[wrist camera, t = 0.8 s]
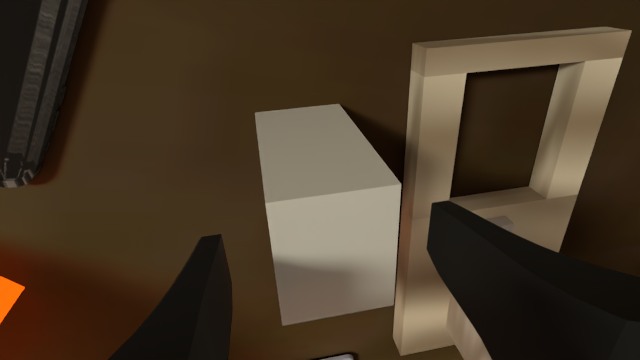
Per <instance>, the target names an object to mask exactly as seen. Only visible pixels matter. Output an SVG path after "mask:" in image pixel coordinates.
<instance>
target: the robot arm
mask: <svg viewBox="0 0 640 360" xmlns="http://www.w3.org/2000/svg"><path fill="white" fill-rule="evenodd" d="M426 249H427V251H428V254H429V256H430V258H431V260H432V262H433V264H434V266H435V268H436V270H437V272H438V274H439V276H440V277H441V279H442V280H443V282H444V283H445V285H446V286H447V288H448V289H449V291H450V292H451V294H452V295H453V297H454V298H455V300H456V301H457V303H458V304H459V306H460V307H461V309H462V310H463V312H464V313H465V315H466V316H467V318H468V319H469V321H470V322H471V324H472V325H473V327H474V328H475V330H476V332H477V333H478V335H479V336H480V338H481V340H482V342H483V344H484V346H485V347H486V349H487V351H488V353H489V355H490V357H491V359H492V360H640V277H636V276H632V275H628V274H624V273H620V272H617V271H613V270H609V269H606V268H603V267H599V266H596V265H593V264H590V263H586V262H583V261H580V260H577V259H574V258H571V257H569V256H566V255H563V254H561V253H558V252H555V251H553V250H550V249H548V248H545V247H543V246H540V245H538V244H536V243H533V242H531V241H529V240H527V239H525V238H522V237H520V236H518V235H516V234H514V233H512V232H510V231H508V230H506V229H504V228H502V227H500V226H498V225H496V224H494V223H492V222H490V221H488V220H486V219H484V218H482V217H480V216H478V215H477V214H475V213H473V212H471V211H469V210H467V209H465V208H463V207H461V206H459V205H457V204H455V203H453V202H451V201H448V200H447V201H440V202H434V203H432V205H431V213H430V222H429V231H428V240H427V248H426ZM231 321H232V281H231V277H230V272H229V267H228V263H227V258H226V254H225V249H224V244H223V240H222V235H221V234H218V235H212V236H205V237H201V239H200V240H199V241H198V243H197V245H196V247H195V249H194V250H193V252H192V254H191V256H190V257H189V259H188V261H187V262H186V264H185V266H184V267H183V269H182V270H181V272H180V273H179V275H178V277H177V278H176V280H175V281H174V283H173V284H172V286H171V287H170V289H169V290H168V291H167V293H166V294H165V295H164V297H163V298H162V299H161V301H160V302H159V304H158V305H157V306H156V308H155V309H154V310H153V311H152V313H151V314H150V315H149V316H148V317H147V319H146V320H145V321H144V322H143V323H142V325H141V326H140V327H139V328H138V329H137V330H136V331H135V333H134V334H133V335H132V336H131V337H130V338H129V339H128V340H127V341H126V342H125V343H124V344H123V345H122V346H121V347H120V348H119V349H118V350H117V351H116V352H115V353H114V354H113V355H112V356H111V357H110V358H109V359H108V360H228V355H229V344H230V333H231ZM321 360H354V359H353V356H352V355H349V354H346V355H341V356H336V357H331V358H326V359H321Z"/></svg>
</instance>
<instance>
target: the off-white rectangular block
mask: <svg viewBox="0 0 640 360" xmlns="http://www.w3.org/2000/svg"><path fill="white" fill-rule="evenodd" d="M255 119H256V127H257V136H258V144H259V153H260V162H261V170H262V179H263V187H264V196H265V204H266V211H267V218H268V226H269V233H270V240H271V247H272V254H273V261H274V269H275V276H276V283H277V290H278V297H279V304H280V311H281V319H282V326H284V325H289V324H296V323H302V322H307V321H312V320H318V319H323V318H329V317H334V316H339V315H345V314H350V313H355V312H361V311H366V310H372V309H377V308H381V307H386V306H391V305H394V289H395V274H396V259H397V243H398V228H399V212H400V197H401V183H400V182H399V181H398V179H397V178H396V177H395V175H394V174H393V173H392V171H391V170H390V169H389V168H388V166H387V165H386V164H385V162H384V161H383V160H382V159H381V157H380V156H379V155H378V153H377V152H376V151H375V150H374V148H373V147H372V146H371V144H370V143H369V142H368V140H367V139H366V138H365V137H364V135H363V134H362V133H361V131H360V130H359V129H358V128H357V126H356V125H355V124H354V122H353V121H352V120H351V119H350V117H349V116H348V115H347V113H346V112H345V111H344V110H343V108H342V107H341V106H340V104H333V105H323V106H314V107H304V108H295V109H286V110H276V111H267V112H257V113H255Z"/></svg>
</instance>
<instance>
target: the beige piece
mask: <svg viewBox="0 0 640 360" xmlns="http://www.w3.org/2000/svg"><path fill="white" fill-rule="evenodd" d="M630 34H631V30H624V29H617V28H610V27H595V28H583V29H572V30H560V31H548V32H537V33H525V34H513V35H502V36H490V37H478V38H466V39H455V40H443V41H431V42H420V43H413V46H412V61H411V76H410V91H409V105H408V120H407V135H406V150H405V165H404V180H403V195H402V210H401V224H400V239H399V254H398V269H397V284H396V299H395V314H394V329H393V339H394V341H395V343H396V346H397V348H398V351H399V353H400V355H401V356H402V355H406V354H411V353H416V352H421V351H426V350H431V349H435V348H440V347H445V346H450V345H456V346H457V348H458V350H459V351H460V353H461V355H462V356H463V358H464V360H492V359H491V357H490V355H489V353H488V351H487V349H486V347H485V346H484V344H483V342H482V340H481V338H480V336H479V335H478V333H477V332H476V330H475V328H474V327H473V325H472V324H471V322H470V321H469V319H468V318H467V316H466V315H465V313H464V312H463V310H462V309H461V307H460V306H459V304H458V303H457V301H456V300H455V298H454V297H453V295H452V294H451V292H450V291H449V289H448V288H447V286H446V285H445V283H444V282H443V280H442V279H441V277H440V276H439V274H438V272H437V270H436V268H435V266H434V264H433V262H432V260H431V258H430V256H429V254H428V251H427V249H426V248H427V240H428V231H429V222H430V213H431V205H432V203H434V202H440V201H447V200H448V201H451V202H453V203H455V204H457V205H459V206H461V207H463V208H465V209H467V210H469V211H471V212H473V213H475V214H477V215H478V216H480V217H482V218H484V219H486V220H488V221H490V222H492V223H494V224H496V225H498V226H500V227H502V228H504V229H506V230H508V231H510V232H512V233H514V234H516V235H518V236H520V237H522V238H525V239H527V240H529V241H531V242H533V243H536V244H538V245H540V246H543V247H545V248H548V249H550V250H553V251H555V252H558V253H559V250H560V247H561V244H562V241H563V238H564V235H565V232H566V229H567V226H568V223H569V220H570V216H571V213H572V210H573V207H574V204H575V201H576V198H577V195H578V192H579V189H580V186H581V183H582V180H583V177H584V174H585V171H586V168H587V165H588V162H589V159H590V156H591V153H592V150H593V147H594V144H595V141H596V138H597V135H598V131H599V128H600V125H601V122H602V119H603V116H604V113H605V110H606V107H607V104H608V101H609V98H610V95H611V92H612V89H613V86H614V83H615V80H616V77H617V74H618V71H619V68H620V65H621V62H622V59H623V56H624V53H625V50H626V46H627V43H628V40H629V37H630ZM552 64H560V65H559V69H558V73H557V77H556V81H555V85H554V89H553V93H552V97H551V101H550V105H549V109H548V113H547V117H546V120H545V124H544V128H543V132H542V136H541V140H540V144H539V148H538V152H537V156H536V160H535V164H534V168H533V172H532V176H531V180H530V184H529V186H528V187H521V188H514V189H508V190H501V191H494V192H487V193H481V194H474V195H467V196H460V197H454V198H450V190H451V183H452V176H453V169H454V161H455V154H456V147H457V140H458V132H459V125H460V118H461V111H462V103H463V96H464V89H465V82H466V74H467V73H472V72H482V71H492V70H502V69H512V68H522V67H532V66H542V65H552Z"/></svg>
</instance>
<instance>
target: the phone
mask: <svg viewBox="0 0 640 360" xmlns="http://www.w3.org/2000/svg"><path fill="white" fill-rule="evenodd" d="M87 3H88V0H0V187H5V188H16V187H20V186H23V185H26V184H27V183H28V182H29V181H31V180H32V179H33V178H34V177H35V176H36V175H37V174H38V173H39V171H40V169H41V168H42V165H43V162H44V158H45V155H46V153H47V152H48V148H49V145H50V141H49V140H50V136H51V133H52V131H54V128H55V125H56V121H57V118H58V114H59V110H58V108H59V106H61V105H62V102H63V98H64V95H65V91H66V87H67V86H65V82H66V79H67V75H68V71H69V68H70V64H71V61H72V57H73V53H74V50H75V46H76V42H77V39H78V35H79V32H80V28H81V24H82V21H83V17H84V14H85V10H86V6H87Z"/></svg>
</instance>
